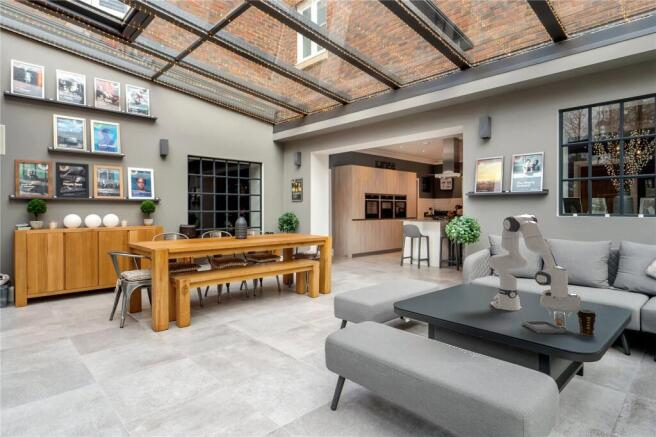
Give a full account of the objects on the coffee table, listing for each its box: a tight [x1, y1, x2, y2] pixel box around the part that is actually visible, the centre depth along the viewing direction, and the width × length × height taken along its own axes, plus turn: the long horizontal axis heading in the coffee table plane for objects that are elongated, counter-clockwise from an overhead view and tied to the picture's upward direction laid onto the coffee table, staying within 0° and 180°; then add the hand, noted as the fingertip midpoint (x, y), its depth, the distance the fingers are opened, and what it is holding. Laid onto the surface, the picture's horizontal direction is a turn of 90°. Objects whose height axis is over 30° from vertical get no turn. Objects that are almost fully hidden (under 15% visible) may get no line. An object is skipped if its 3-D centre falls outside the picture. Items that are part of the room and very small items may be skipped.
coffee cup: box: [576, 309, 597, 336], centre depth 197 cm, size 9×8×13 cm
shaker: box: [553, 310, 567, 329], centre depth 211 cm, size 6×5×8 cm
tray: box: [522, 320, 566, 335], centre depth 205 cm, size 16×15×2 cm
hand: (559, 316), depth 210 cm, fingers open, 8 cm apart
